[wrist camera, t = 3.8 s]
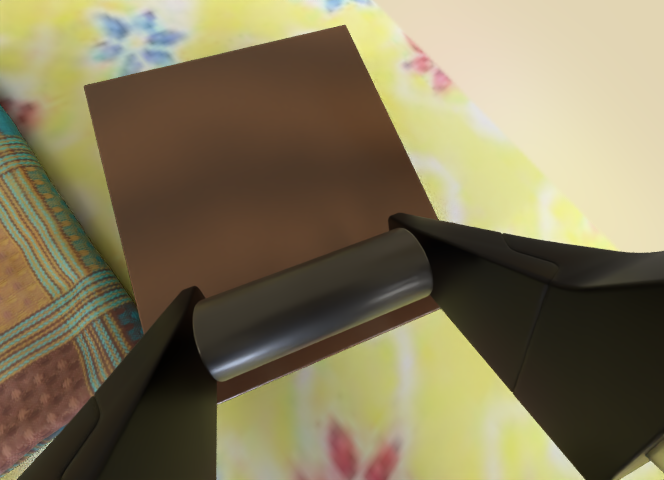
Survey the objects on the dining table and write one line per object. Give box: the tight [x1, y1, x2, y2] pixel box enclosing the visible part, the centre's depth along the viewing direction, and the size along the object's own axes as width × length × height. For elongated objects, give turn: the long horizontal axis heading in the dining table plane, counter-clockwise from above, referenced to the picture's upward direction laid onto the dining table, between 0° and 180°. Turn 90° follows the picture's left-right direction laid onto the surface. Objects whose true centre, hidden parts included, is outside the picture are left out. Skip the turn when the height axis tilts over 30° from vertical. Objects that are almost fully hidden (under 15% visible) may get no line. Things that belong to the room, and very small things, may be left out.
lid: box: [84, 25, 441, 405], centre depth 9 cm, size 13×12×5 cm
